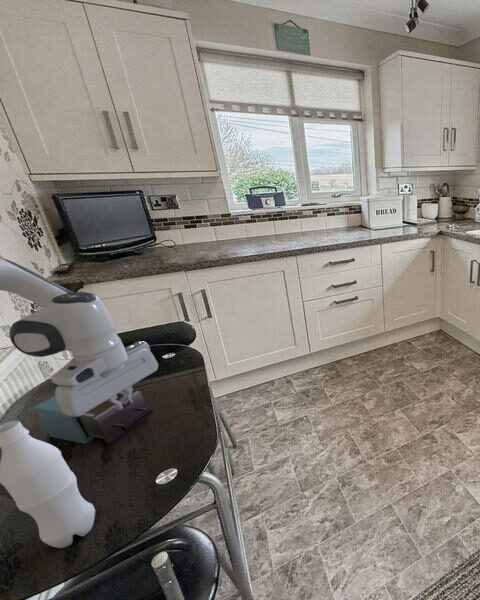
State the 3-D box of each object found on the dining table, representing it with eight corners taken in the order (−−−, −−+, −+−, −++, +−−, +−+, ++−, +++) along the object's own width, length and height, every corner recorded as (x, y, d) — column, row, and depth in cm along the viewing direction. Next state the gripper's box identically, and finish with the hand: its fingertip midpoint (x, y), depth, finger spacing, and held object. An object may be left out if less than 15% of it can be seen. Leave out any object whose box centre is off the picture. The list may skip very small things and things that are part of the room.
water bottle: (76, 514, 64) (10, 412, 55) (110, 513, 64) (50, 410, 55) (37, 554, 58) (-45, 445, 49) (75, 553, 57) (0, 443, 48)
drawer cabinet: (132, 412, 94) (119, 384, 90) (85, 444, 83) (68, 413, 80) (99, 407, 98) (85, 380, 94) (50, 436, 87) (32, 407, 83)
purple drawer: (164, 416, 89) (153, 393, 86) (123, 447, 80) (110, 421, 77) (118, 409, 94) (107, 386, 91) (75, 437, 84) (61, 413, 82)
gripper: (136, 337, 87) (154, 380, 92) (41, 382, 69) (69, 433, 74) (153, 338, 86) (171, 382, 91) (60, 385, 67) (88, 437, 72)
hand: (124, 405), depth 82 cm, fingers closed
